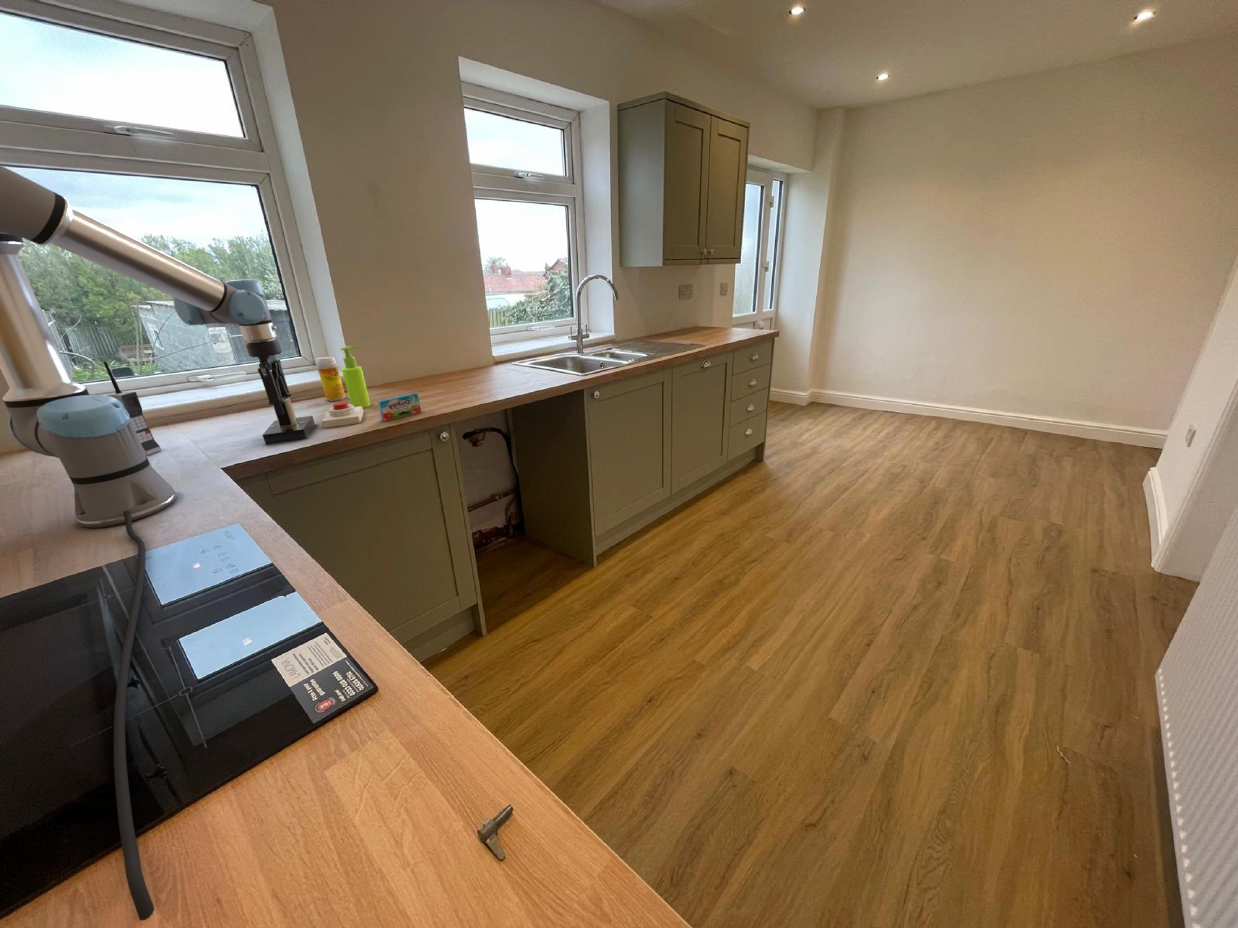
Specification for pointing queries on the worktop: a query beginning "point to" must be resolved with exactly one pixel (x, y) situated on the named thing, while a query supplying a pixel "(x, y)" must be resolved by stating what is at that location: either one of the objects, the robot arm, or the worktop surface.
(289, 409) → the beige upright cylinder
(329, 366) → the yellow bottle
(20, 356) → the robot arm
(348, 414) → the switch block
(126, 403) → the vintage mobile phone
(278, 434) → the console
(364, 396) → the soap dispenser
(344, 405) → the power button
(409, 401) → the yogurt
